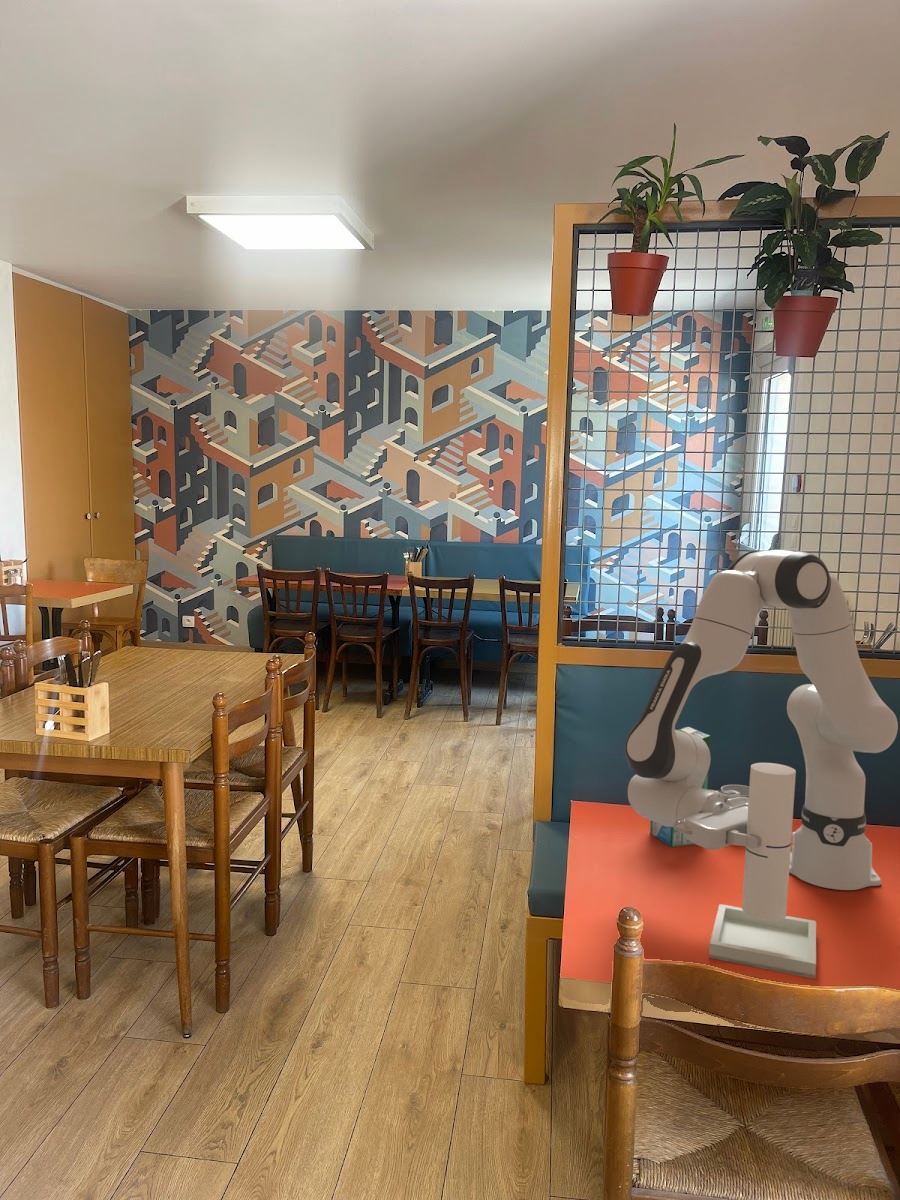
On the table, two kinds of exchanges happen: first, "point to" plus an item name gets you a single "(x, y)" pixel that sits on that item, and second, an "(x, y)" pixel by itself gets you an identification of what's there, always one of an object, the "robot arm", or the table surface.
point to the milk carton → (669, 833)
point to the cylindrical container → (769, 841)
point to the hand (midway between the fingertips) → (773, 838)
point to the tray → (764, 942)
